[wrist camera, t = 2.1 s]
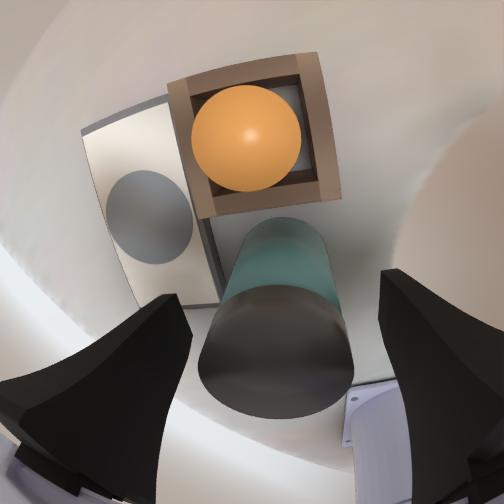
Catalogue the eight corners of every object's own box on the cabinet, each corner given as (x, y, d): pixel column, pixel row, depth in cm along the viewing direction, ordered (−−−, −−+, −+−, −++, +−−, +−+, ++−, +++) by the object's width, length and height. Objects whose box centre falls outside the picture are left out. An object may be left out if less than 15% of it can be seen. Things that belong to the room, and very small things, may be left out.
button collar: (331, 183, 11) (341, 198, 9) (215, 200, 12) (198, 219, 10) (310, 66, 9) (316, 51, 7) (190, 90, 10) (166, 83, 8)
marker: (330, 290, 14) (350, 413, 7) (248, 299, 14) (221, 418, 8) (323, 210, 12) (357, 311, 6) (231, 223, 13) (175, 326, 6)
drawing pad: (229, 297, 14) (225, 310, 13) (146, 302, 15) (138, 314, 14) (179, 93, 10) (169, 91, 9) (90, 128, 11) (76, 130, 10)
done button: (303, 166, 10) (309, 183, 7) (226, 178, 10) (204, 200, 8) (289, 90, 9) (289, 76, 6) (211, 105, 9) (181, 100, 6)
